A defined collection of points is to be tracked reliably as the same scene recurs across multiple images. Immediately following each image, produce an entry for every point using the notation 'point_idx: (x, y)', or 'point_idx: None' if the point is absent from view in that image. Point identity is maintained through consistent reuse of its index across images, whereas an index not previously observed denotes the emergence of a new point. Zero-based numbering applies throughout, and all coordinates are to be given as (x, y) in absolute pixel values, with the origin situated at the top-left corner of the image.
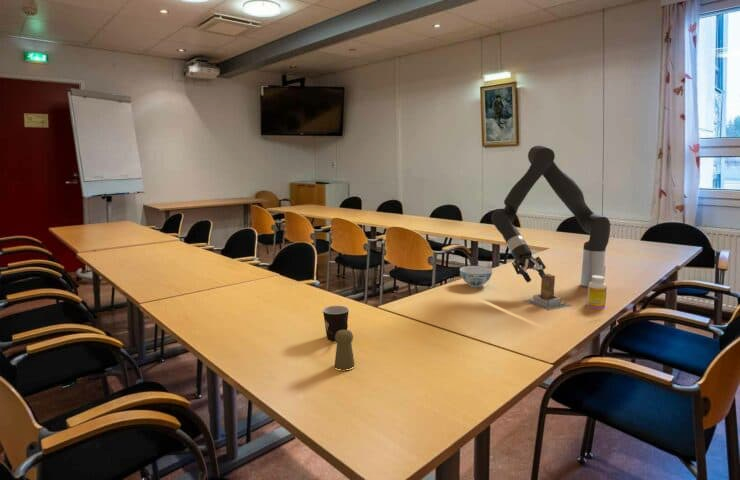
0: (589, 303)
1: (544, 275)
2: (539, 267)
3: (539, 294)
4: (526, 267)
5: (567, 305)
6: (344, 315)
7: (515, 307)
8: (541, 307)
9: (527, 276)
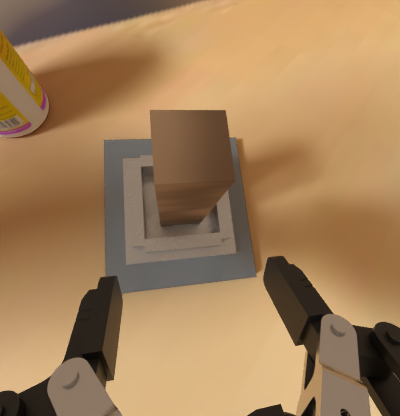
0: (40, 97)
1: (229, 153)
2: (100, 398)
3: (190, 243)
4: (335, 369)
5: (122, 148)
6: None
7: (309, 233)
8: (237, 169)
9: (298, 286)
